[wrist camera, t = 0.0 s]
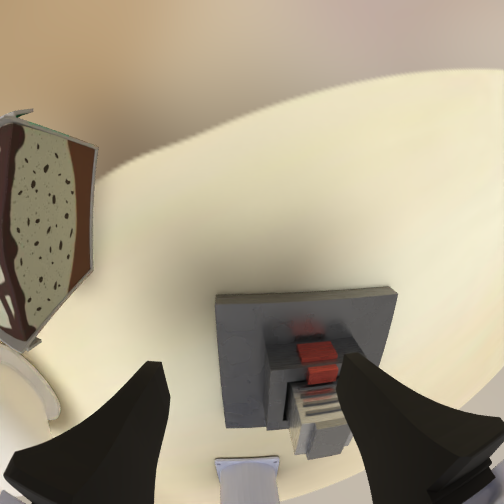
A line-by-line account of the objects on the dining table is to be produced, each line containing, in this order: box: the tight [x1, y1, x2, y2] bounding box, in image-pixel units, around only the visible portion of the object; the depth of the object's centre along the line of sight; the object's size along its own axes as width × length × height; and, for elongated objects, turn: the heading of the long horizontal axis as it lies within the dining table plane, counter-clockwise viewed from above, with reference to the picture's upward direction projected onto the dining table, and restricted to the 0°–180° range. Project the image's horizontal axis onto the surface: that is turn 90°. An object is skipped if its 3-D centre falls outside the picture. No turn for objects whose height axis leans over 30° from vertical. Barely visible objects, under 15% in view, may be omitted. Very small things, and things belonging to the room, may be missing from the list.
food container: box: [0, 109, 99, 354], centre depth 12 cm, size 12×6×10 cm, turn 171°
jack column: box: [284, 376, 353, 460], centre depth 17 cm, size 4×4×7 cm
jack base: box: [215, 286, 398, 430], centre depth 20 cm, size 14×14×5 cm
